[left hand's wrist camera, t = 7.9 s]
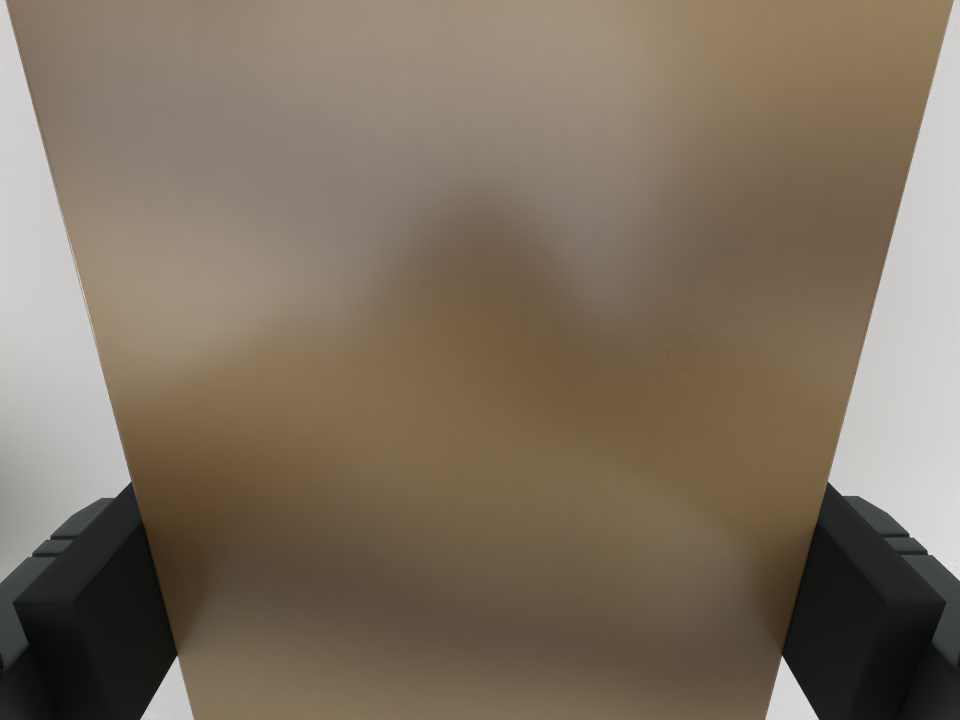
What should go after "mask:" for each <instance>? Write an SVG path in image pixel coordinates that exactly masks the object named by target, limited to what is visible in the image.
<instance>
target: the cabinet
mask: <svg viewBox="0 0 960 720" xmlns="http://www.w3.org/2000/svg"><path fill="white" fill-rule="evenodd" d="M953 1H954V0H6V4H7V7H8V11H9V15H10V19H11V23H12V27H13V30H14V34H15V38H16V42H17V46H18V49H19V53H20V57H21V61H22V65H23V69H24V72H25V76H26V80H27V84H28V88H29V91H30V95H31V99H32V103H33V107H34V111H35V114H36V118H37V122H38V126H39V130H40V133H41V137H42V141H43V145H44V149H45V153H46V156H47V160H48V164H49V168H50V172H51V175H52V179H53V183H54V187H55V191H56V195H57V198H58V202H59V206H60V210H61V214H62V217H63V221H64V225H65V229H66V233H67V237H68V240H69V244H70V248H71V252H72V256H73V259H74V263H75V267H76V271H77V275H78V278H79V282H80V286H81V290H82V294H83V298H84V301H85V305H86V309H87V313H88V317H89V320H90V324H91V328H92V332H93V336H94V340H95V343H96V347H97V351H98V355H99V359H100V362H101V366H102V370H103V374H104V378H105V382H106V385H107V389H108V393H109V397H110V401H111V404H112V408H113V412H114V416H115V420H116V424H117V427H118V431H119V435H120V439H121V443H122V446H123V450H124V454H125V458H126V462H127V466H128V469H129V473H130V477H131V481H132V485H133V488H134V492H135V496H136V500H137V504H138V507H139V511H140V515H141V519H142V523H143V527H144V530H145V534H146V538H147V542H148V546H149V549H150V553H151V557H152V561H153V565H154V569H155V572H156V576H157V580H158V584H159V588H160V591H161V595H162V599H163V603H164V607H165V611H166V614H167V618H168V622H169V626H170V630H171V633H172V637H173V641H174V645H175V649H176V653H177V656H178V660H179V664H180V668H181V672H182V675H183V679H184V683H185V687H186V691H187V695H188V698H189V702H190V706H191V710H192V714H193V717H194V720H765V718H766V714H767V711H768V707H769V703H770V699H771V695H772V692H773V688H774V684H775V680H776V676H777V672H778V669H779V665H780V661H781V657H782V653H783V650H784V646H785V642H786V638H787V634H788V630H789V627H790V623H791V619H792V615H793V611H794V608H795V604H796V600H797V596H798V592H799V588H800V585H801V581H802V577H803V573H804V569H805V566H806V562H807V558H808V554H809V550H810V547H811V543H812V539H813V535H814V531H815V527H816V524H817V520H818V516H819V512H820V508H821V505H822V501H823V497H824V493H825V489H826V485H827V482H828V478H829V474H830V470H831V466H832V463H833V459H834V455H835V451H836V447H837V443H838V440H839V436H840V432H841V428H842V424H843V421H844V417H845V413H846V409H847V405H848V401H849V398H850V394H851V390H852V386H853V382H854V379H855V375H856V371H857V367H858V363H859V359H860V356H861V352H862V348H863V344H864V340H865V337H866V333H867V329H868V325H869V321H870V318H871V314H872V310H873V306H874V302H875V298H876V295H877V291H878V287H879V283H880V279H881V276H882V272H883V268H884V264H885V260H886V256H887V253H888V249H889V245H890V241H891V237H892V234H893V230H894V226H895V222H896V218H897V214H898V211H899V207H900V203H901V199H902V195H903V192H904V188H905V184H906V180H907V176H908V172H909V169H910V165H911V161H912V157H913V153H914V150H915V146H916V142H917V138H918V134H919V130H920V127H921V123H922V119H923V115H924V111H925V108H926V104H927V100H928V96H929V92H930V89H931V85H932V81H933V77H934V73H935V69H936V66H937V62H938V58H939V54H940V50H941V47H942V43H943V39H944V35H945V31H946V27H947V24H948V20H949V16H950V12H951V8H952V5H953Z"/></svg>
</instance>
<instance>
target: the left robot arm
mask: <svg viewBox="0 0 960 720" xmlns="http://www.w3.org/2000/svg"><path fill="white" fill-rule="evenodd" d="M176 656H177V653H176V649H175V645H174V641H173V637H172V633H171V630H170V626H169V622H168V618H167V614H166V611H165V607H164V603H163V599H162V595H161V591H160V588H159V584H158V580H157V576H156V572H155V569H154V565H153V561H152V557H151V553H150V549H149V546H148V542H147V538H146V534H145V530H144V527H143V523H142V519H141V515H140V511H139V507H138V504H137V500H136V496H135V492H134V488H133V485H132V482H131V483H130V484H129V485H128V486H127V487H126V488H125V489H124V490H123V491H122V492H121V493H120V494H119V495H118V496H117V497H116V498H101V499H99V500H98V501H96V502H94V503H92V504H91V505H89V506H87V507H86V508H84V509H82V510H81V511H79V512H77V513H75V514H74V515H72V516H71V517H70V518H69V519H68V520H67V521H66V522H65V523H64V524H63V525H62V526H60V527H59V528H58V529H57V530H56V531H55V532H54V533H53V534H52V535H51V538H50V540H46V541H45V542H44V543H43V544H41V545H40V546H39V547H38V548H37V549H36V550H35V551H34V552H33V555H32V557H28V558H27V559H26V560H25V561H23V562H22V563H21V564H20V565H19V566H18V567H17V568H16V569H15V570H14V571H13V572H12V573H11V574H10V575H9V576H8V577H7V578H6V579H4V580H3V581H2V582H1V583H0V720H140V719H141V717H142V716H143V714H144V712H145V710H146V709H147V707H148V705H149V703H150V702H151V700H152V698H153V696H154V695H155V693H156V691H157V689H158V688H159V686H160V684H161V683H162V681H163V679H164V677H165V676H166V674H167V672H168V670H169V669H170V667H171V665H172V663H173V662H174V660H175V658H176ZM782 656H783V657H784V659H785V661H786V663H787V664H788V666H789V668H790V670H791V671H792V673H793V675H794V677H795V678H796V680H797V682H798V684H799V685H800V687H801V689H802V691H803V692H804V694H805V696H806V697H807V699H808V701H809V703H810V704H811V706H812V708H813V710H814V711H815V713H816V715H817V717H818V718H819V720H960V581H959V580H958V579H957V578H956V577H955V576H954V575H953V574H952V573H951V572H949V571H948V570H947V569H946V568H945V567H944V566H943V565H942V564H941V563H940V562H939V561H938V560H937V559H936V558H935V557H934V556H932V555H928V553H927V550H926V549H925V548H924V547H923V546H922V545H921V544H920V543H919V542H918V541H917V540H915V539H914V538H910V536H909V533H908V532H907V531H906V530H905V529H904V528H903V527H902V526H901V525H900V524H898V523H897V522H896V521H895V520H894V519H893V518H892V517H891V516H890V515H889V514H888V513H886V512H884V511H883V510H881V509H879V508H878V507H876V506H874V505H873V504H871V503H869V502H867V501H866V500H864V499H862V498H861V497H859V496H842V495H841V494H840V493H839V492H838V491H837V490H836V489H835V488H834V487H833V486H832V485H831V484H830V483H829V482H827V485H826V489H825V493H824V497H823V501H822V505H821V508H820V512H819V516H818V520H817V524H816V527H815V531H814V535H813V539H812V543H811V547H810V550H809V554H808V558H807V562H806V566H805V569H804V573H803V577H802V581H801V585H800V588H799V592H798V596H797V600H796V604H795V608H794V611H793V615H792V619H791V623H790V627H789V630H788V634H787V638H786V642H785V646H784V650H783V653H782Z"/></svg>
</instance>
